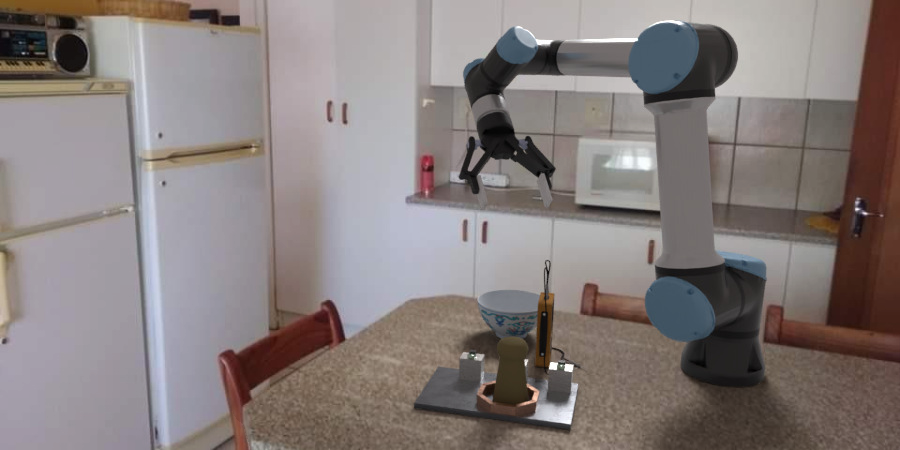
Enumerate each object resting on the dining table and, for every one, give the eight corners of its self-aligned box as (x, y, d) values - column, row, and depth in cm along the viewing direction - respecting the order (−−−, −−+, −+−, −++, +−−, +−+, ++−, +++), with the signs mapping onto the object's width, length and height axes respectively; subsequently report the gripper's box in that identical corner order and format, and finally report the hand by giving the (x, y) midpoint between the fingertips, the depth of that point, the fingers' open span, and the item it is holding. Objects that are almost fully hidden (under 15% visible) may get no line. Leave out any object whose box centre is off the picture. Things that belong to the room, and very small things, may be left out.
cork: (533, 396, 123) (536, 336, 121) (521, 411, 118) (523, 348, 116) (500, 389, 126) (502, 330, 124) (487, 403, 121) (489, 342, 118)
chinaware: (479, 320, 163) (480, 287, 161) (546, 324, 161) (548, 291, 159) (472, 345, 148) (473, 309, 147) (546, 350, 147) (547, 314, 145)
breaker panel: (578, 388, 129) (579, 358, 128) (570, 429, 115) (572, 396, 113) (438, 371, 135) (438, 342, 134) (414, 408, 121) (414, 376, 119)
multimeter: (587, 381, 133) (593, 277, 128) (532, 375, 134) (537, 272, 130) (588, 351, 147) (594, 256, 142) (539, 346, 149) (543, 252, 144)
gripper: (541, 132, 159) (568, 212, 148) (432, 133, 152) (452, 218, 141) (553, 110, 153) (581, 191, 142) (440, 110, 146) (460, 196, 135)
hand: (517, 205), depth 141 cm, fingers open, 13 cm apart
